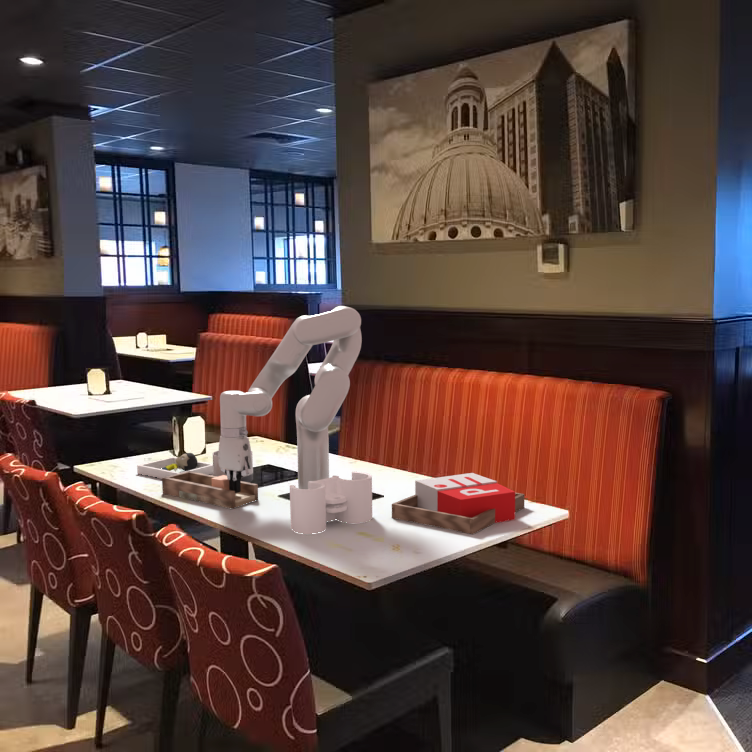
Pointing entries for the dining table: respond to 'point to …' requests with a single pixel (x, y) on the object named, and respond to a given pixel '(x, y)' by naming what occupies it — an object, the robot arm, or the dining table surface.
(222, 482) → the block
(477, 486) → the red and white box
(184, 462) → the toy
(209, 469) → the toy tray
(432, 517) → the logo tray
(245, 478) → the planter
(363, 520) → the bracket
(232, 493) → the long wooden tray
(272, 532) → the dining table surface
